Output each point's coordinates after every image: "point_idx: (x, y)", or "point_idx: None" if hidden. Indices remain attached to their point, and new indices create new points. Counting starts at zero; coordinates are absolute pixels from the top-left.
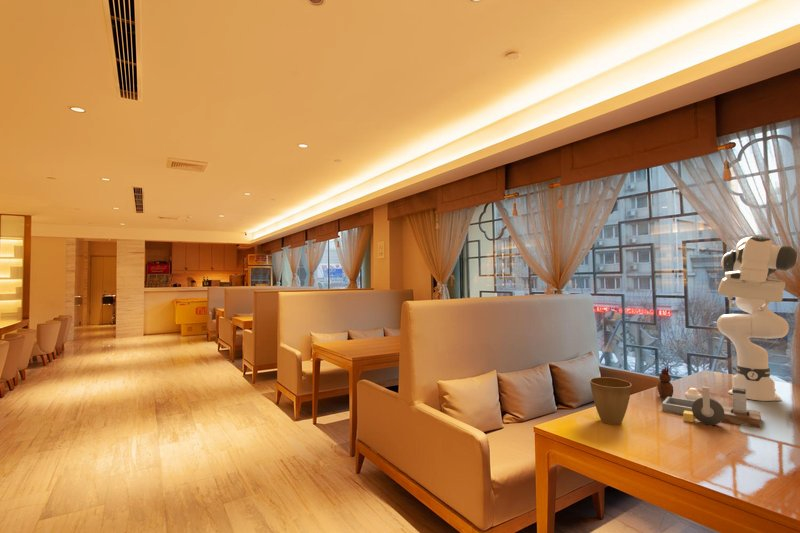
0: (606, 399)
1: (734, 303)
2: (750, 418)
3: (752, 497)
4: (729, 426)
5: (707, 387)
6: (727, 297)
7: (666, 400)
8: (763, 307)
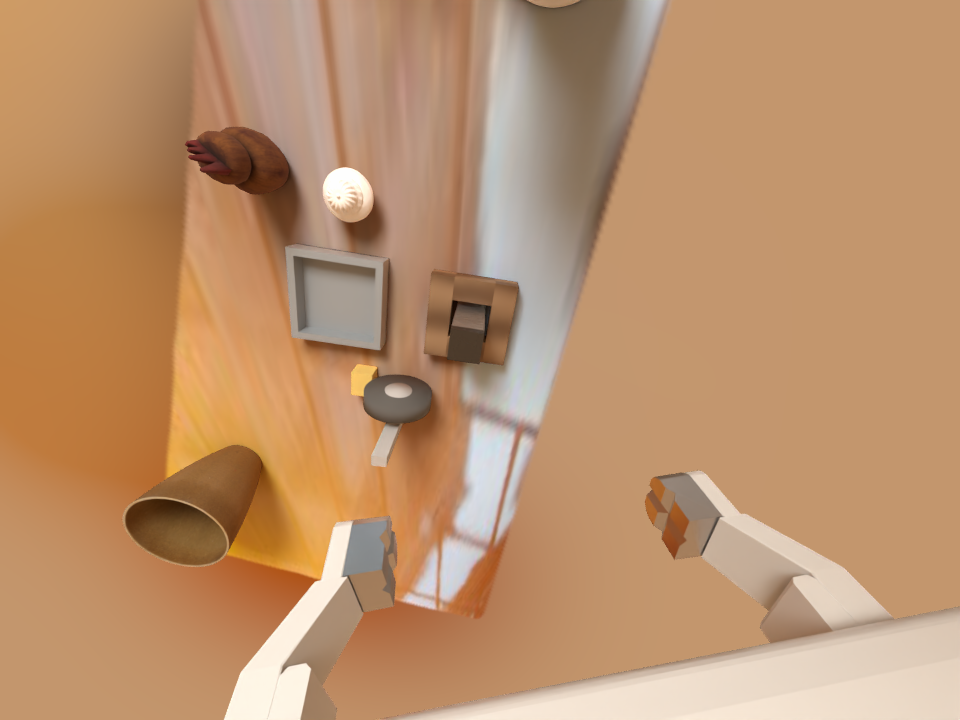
0: (211, 534)
1: (386, 604)
2: (485, 362)
3: (452, 604)
4: (444, 378)
5: (383, 462)
6: (238, 679)
7: (294, 301)
8: (706, 553)
